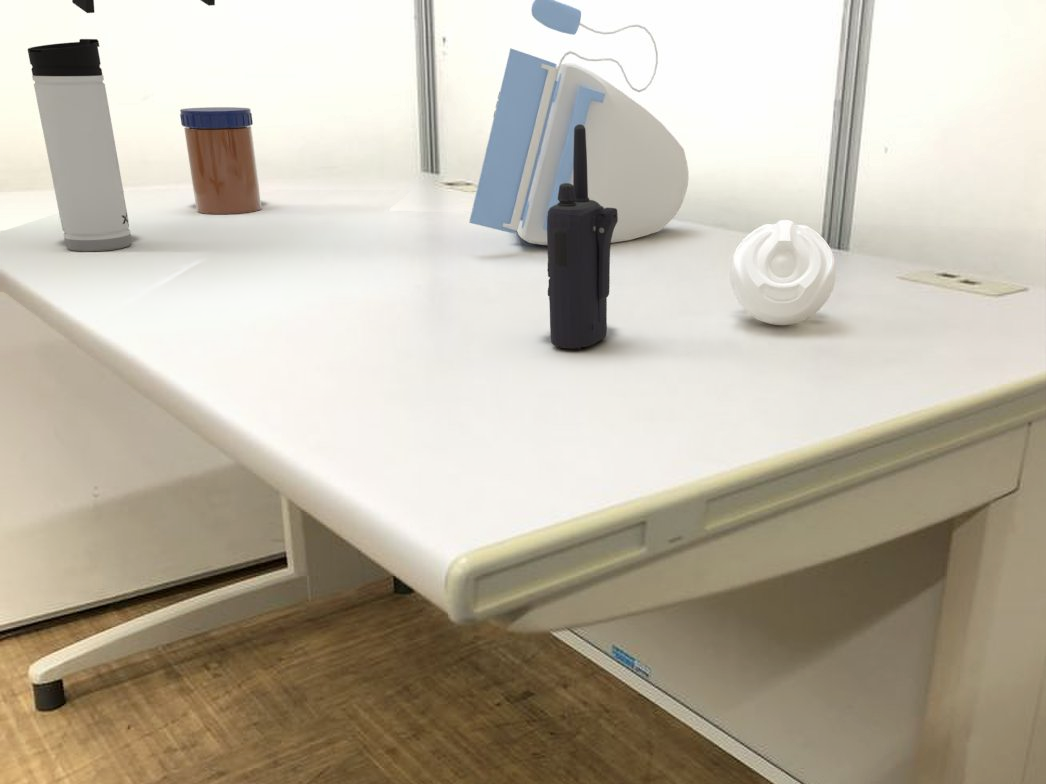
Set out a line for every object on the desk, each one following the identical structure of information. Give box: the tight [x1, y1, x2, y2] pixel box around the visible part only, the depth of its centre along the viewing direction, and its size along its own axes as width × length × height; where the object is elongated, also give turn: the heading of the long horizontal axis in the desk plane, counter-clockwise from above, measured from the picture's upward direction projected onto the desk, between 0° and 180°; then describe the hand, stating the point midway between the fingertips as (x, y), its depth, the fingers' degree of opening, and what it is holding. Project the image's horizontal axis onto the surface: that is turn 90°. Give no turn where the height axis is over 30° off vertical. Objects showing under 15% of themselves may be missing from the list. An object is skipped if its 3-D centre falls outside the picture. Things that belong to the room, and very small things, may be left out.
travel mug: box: [27, 38, 133, 253], centre depth 107 cm, size 6×7×20 cm
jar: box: [183, 125, 262, 215], centre depth 132 cm, size 8×8×12 cm
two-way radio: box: [546, 124, 618, 351], centre depth 74 cm, size 6×4×15 cm
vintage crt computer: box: [468, 0, 689, 246], centre depth 115 cm, size 25×23×17 cm
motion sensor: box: [729, 219, 837, 326], centre depth 81 cm, size 8×8×8 cm
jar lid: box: [179, 106, 254, 128], centre depth 130 cm, size 8×8×2 cm
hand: (146, 4), depth 112 cm, fingers open, 13 cm apart
